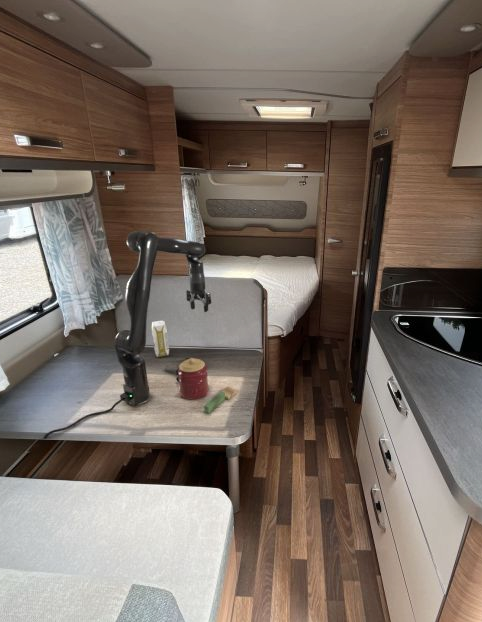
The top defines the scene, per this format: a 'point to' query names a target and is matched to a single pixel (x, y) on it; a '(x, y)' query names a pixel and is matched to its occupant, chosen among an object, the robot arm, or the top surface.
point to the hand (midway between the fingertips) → (199, 310)
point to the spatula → (219, 399)
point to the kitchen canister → (193, 378)
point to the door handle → (175, 370)
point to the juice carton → (160, 338)
